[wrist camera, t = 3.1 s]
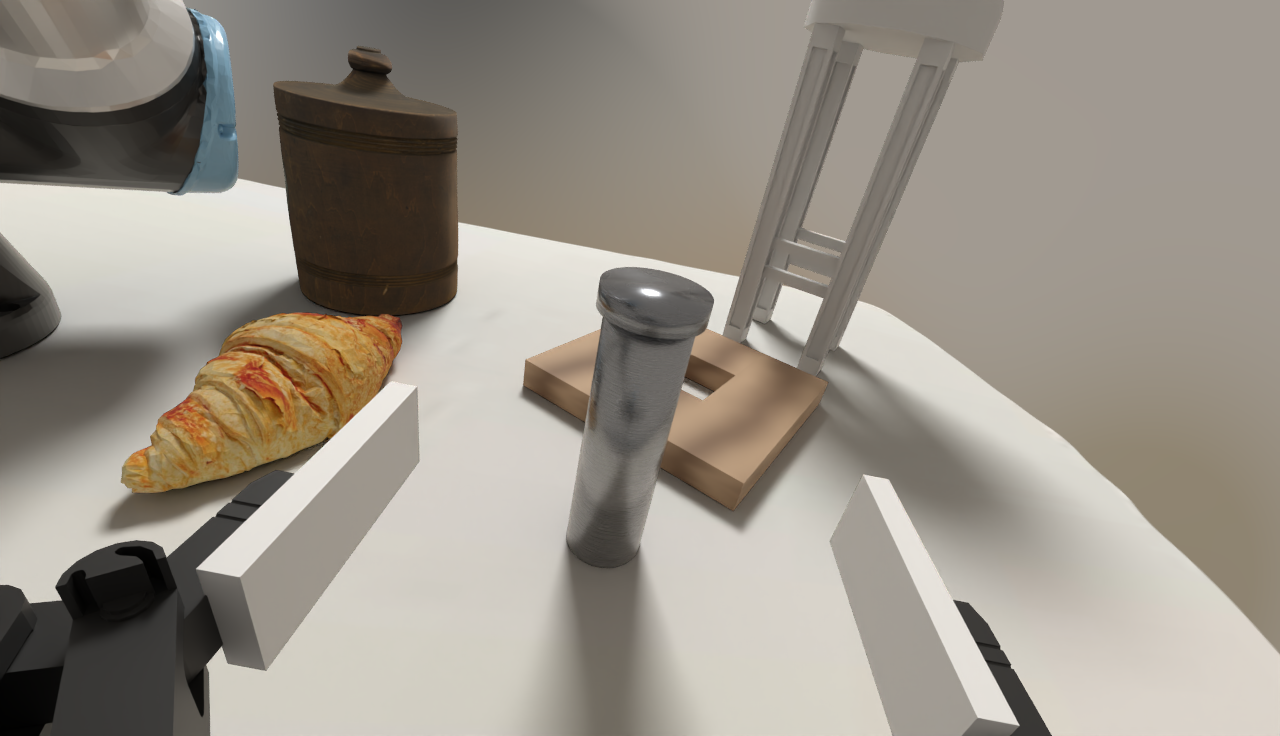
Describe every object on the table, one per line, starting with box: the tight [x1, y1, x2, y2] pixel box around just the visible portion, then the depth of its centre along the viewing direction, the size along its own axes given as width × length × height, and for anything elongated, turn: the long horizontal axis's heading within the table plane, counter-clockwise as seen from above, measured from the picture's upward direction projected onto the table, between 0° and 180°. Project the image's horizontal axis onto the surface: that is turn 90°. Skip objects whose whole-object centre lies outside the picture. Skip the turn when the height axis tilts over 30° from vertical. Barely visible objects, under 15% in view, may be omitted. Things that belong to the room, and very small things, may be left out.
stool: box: [722, 0, 1004, 377], centre depth 54 cm, size 16×16×35 cm
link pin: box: [567, 267, 714, 568], centre depth 27 cm, size 5×5×16 cm
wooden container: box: [273, 46, 458, 315], centre depth 49 cm, size 15×15×22 cm
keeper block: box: [523, 329, 828, 511], centre depth 46 cm, size 20×20×2 cm
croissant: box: [121, 312, 402, 493], centre depth 34 cm, size 21×10×8 cm, turn 168°
